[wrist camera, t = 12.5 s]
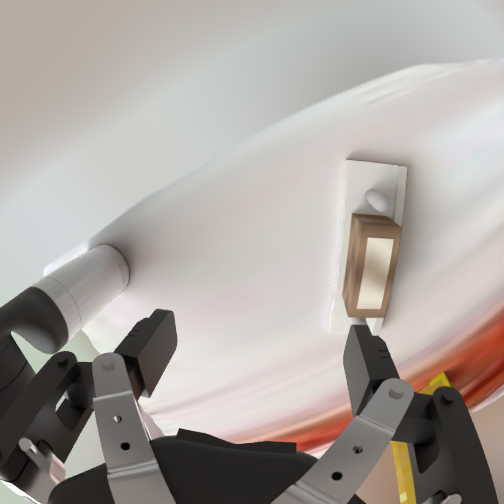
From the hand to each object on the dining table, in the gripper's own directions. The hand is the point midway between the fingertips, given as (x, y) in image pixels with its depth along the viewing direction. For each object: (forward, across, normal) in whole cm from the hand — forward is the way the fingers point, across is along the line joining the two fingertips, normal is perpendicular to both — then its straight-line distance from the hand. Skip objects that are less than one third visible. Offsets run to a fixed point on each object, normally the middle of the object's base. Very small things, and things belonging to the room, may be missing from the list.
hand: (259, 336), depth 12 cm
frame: (+26, -12, +5) cm, 29 cm away
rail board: (+28, -13, +5) cm, 31 cm away
